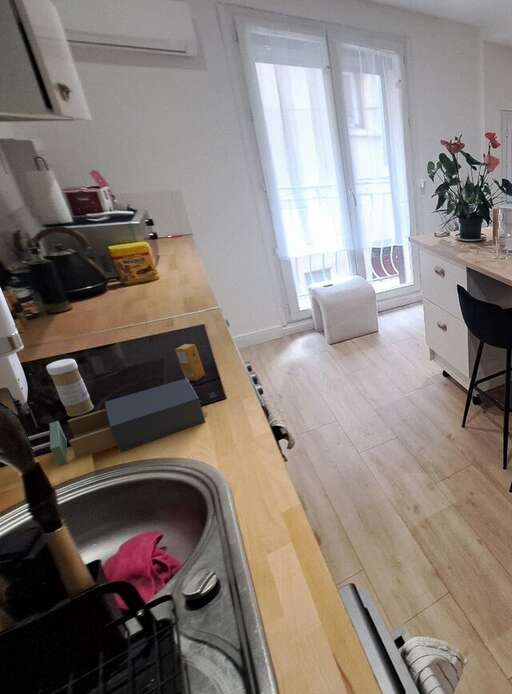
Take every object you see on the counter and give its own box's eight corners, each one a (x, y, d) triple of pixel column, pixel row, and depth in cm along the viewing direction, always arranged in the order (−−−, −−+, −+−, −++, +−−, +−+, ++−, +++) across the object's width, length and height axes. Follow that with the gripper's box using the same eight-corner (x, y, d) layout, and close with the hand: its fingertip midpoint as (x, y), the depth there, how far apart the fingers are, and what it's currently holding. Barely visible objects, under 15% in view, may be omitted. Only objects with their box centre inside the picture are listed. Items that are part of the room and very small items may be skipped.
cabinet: (120, 452, 86) (110, 426, 84) (114, 426, 94) (104, 401, 92) (205, 421, 96) (198, 398, 94) (193, 400, 104) (186, 378, 102)
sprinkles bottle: (78, 407, 100) (57, 358, 95) (100, 405, 101) (80, 357, 96) (61, 418, 96) (39, 368, 91) (84, 417, 97) (62, 367, 92)
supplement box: (193, 375, 115) (184, 343, 112) (205, 375, 115) (196, 343, 112) (184, 381, 112) (174, 348, 109) (196, 381, 112) (186, 349, 109)
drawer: (19, 482, 77) (8, 462, 75) (21, 453, 84) (11, 434, 82) (150, 436, 90) (143, 418, 88) (142, 414, 97) (136, 397, 95)
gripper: (-41, 338, 75) (-4, 422, 81) (-53, 367, 66) (-9, 459, 72) (22, 328, 81) (53, 407, 87) (19, 353, 71) (54, 440, 77)
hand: (25, 431), depth 79 cm, fingers closed
